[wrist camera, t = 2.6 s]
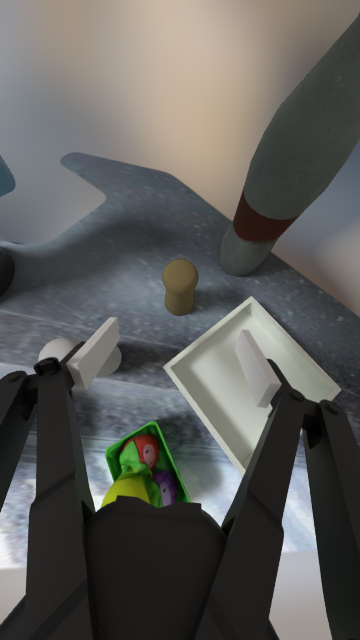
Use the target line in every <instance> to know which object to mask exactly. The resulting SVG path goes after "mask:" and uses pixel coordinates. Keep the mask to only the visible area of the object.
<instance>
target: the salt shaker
mask: <svg viewBox="0 0 360 640" xmlns="http://www.w3.org/2000/svg"><path fill="white" fill-rule="evenodd" d="M79 343H80V342H79V341H78V340H75V339H71V338H59V339H54V340H52V341H51V342H49V343H48V344H46V345H45V347H44V348H43V349H42V351H41V352H40V355H39V360H38V362H39V361H40V360H42V359H45V358H48V357H56V358H58V360H59V362H60V361H61V360H62V359H63V358H64V357H65V356H66V355H67V354H68V353H69V352H70V351H71V350H72V349H73V348H74V347H75V346H76V345H77V344H79ZM121 356H122V354H121V352H120V350H119V348H118V347H117V346H115V347H114V349H113V351H112V352H111V354H110V355H109V357H108V358H107V360H106V361H105V363H104V364H103V366H102V367H101V369H100V370H99V372H98V373H97V375H96V376H97V377H104V376H108V375H110V374H112V373H113V372H114V371H116V370H117V369H118V367H119V365H120V363H121Z"/></svg>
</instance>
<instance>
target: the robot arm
mask: <svg viewBox="0 0 360 640" xmlns="http://www.w3.org/2000/svg"><path fill="white" fill-rule="evenodd" d="M14 188H15V179H14V177H13V174H12V173H11V171H10V169H9V168H8V166H7V164H6V163H5V161H4V160H3V159H2V157H1V155H0V197H1V196H3V195H5V194H7V193H9V192H11V191H13V190H14ZM13 272H14V265H13V261H12V259H11V257H10V255H9V254H8V253H7V252H6V251H4V250H3V249H1V248H0V295H1V294H2V293H3V292H4V291H5V290H6V288H7V287H8V285H9V284H10V282H11V280H12V277H13ZM119 340H120V334H119V327H118V321H117V318H114V317H110V318H109V319H108V320H107V321H106V322H105V323H104V324H103V325H102V326H101V327H100V328H99V329H98V330H97V331H96V332H95V333H94V334H93V336H92V337H91V338H90V339H89V340H88V341H87V342H83V341H82V342H81V343H79V344H77V345H76V346H75V347H74V348H73V349H72V350H71V351H70V352H69V353H68V354H67V355H66V356H65V357H64V358H63V359H62V360H61V361H60V362H59V360H58V358H56V357H48V358H45V359H42V360H40V361H39V362H37V363H36V364H35V365H34V370H35V372H36V374H33V375H27V374H26V372H25V371H15V372H12V373H10V374H7V375H6V376H4V377H3V378H2V379H1V380H0V512H1V509H2V507H3V504H4V501H5V498H6V495H7V492H8V490H9V487H10V484H11V481H12V478H13V475H14V473H15V470H16V467H17V464H18V461H19V458H20V456H21V453H22V450H23V447H24V444H25V441H26V439H27V436H28V433H29V430H30V427H31V424H32V422H33V419H34V416H35V413H36V410H37V407H38V417H37V467H36V497H35V500H34V501H33V503H32V504H31V507H30V512H29V529H28V552H27V576H26V595H25V596H24V597H23V598H22V600H21V601H20V602H19V603H18V604H17V606H16V607H15V608H14V609H13V611H12V612H11V613H10V614H9V615H8V617H7V618H6V619H5V620H4V621H3V622H2V624H1V625H0V640H279V638H278V636H277V634H276V632H275V630H274V628H273V626H272V624H271V622H270V620H269V613H270V608H271V602H272V598H273V592H274V587H275V582H276V577H277V572H278V566H279V561H280V556H281V551H282V546H283V539H284V530H283V527H282V517H283V512H284V508H285V503H286V498H287V494H288V489H289V484H290V479H291V475H292V470H293V465H294V461H295V456H296V451H297V446H298V442H299V437H300V432H301V428H302V433H303V440H304V448H305V456H306V464H307V472H308V479H309V487H310V495H311V503H312V511H313V518H314V526H315V534H316V542H317V550H318V557H319V565H320V573H321V581H322V589H323V595H324V601H325V606H326V613H327V617H328V622H329V627H330V630H331V635H332V640H360V449H359V447H358V444H357V441H356V439H355V436H354V434H353V431H352V429H351V426H350V424H349V421H348V418H347V416H346V414H345V412H344V411H343V410H342V408H341V407H339V406H338V405H337V404H335V403H334V402H332V401H330V400H326V399H322V400H321V401H320V402H319V403H317V402H315V401H312V400H309V399H306V398H305V396H304V395H303V394H302V393H301V392H299V391H298V390H296V389H294V388H292V387H291V385H290V384H289V382H288V381H287V379H286V378H285V376H284V375H283V373H282V372H281V370H280V369H279V367H278V366H277V364H276V363H275V362H274V361H273V360H272V359H267V358H265V356H264V354H263V353H262V351H261V349H260V348H259V346H258V344H257V343H256V341H255V340H254V338H253V336H252V335H251V333H250V331H249V330H244V329H241V332H240V335H239V338H238V341H237V344H236V347H235V352H236V354H237V357H238V359H239V362H240V364H241V367H242V370H243V372H244V375H245V377H246V380H247V383H248V385H249V388H250V390H251V393H252V395H253V398H254V401H255V403H256V406H257V407H262V408H267V407H268V406H269V404H271V406H272V410H271V412H270V413H269V415H268V416H267V417H268V419H267V421H266V424H265V426H264V429H263V431H262V433H261V436H260V438H259V441H258V443H257V445H256V448H255V450H254V452H253V455H252V457H251V460H250V462H249V464H248V467H247V469H246V472H245V474H244V476H243V479H242V481H241V484H240V486H239V488H238V491H237V493H236V495H235V498H234V500H233V503H232V505H231V507H230V509H229V510H228V512H227V514H226V516H225V519H224V521H223V523H222V525H221V527H220V526H219V525H218V523H217V522H216V521H215V520H214V519H213V518H212V517H211V516H210V515H209V514H208V513H207V512H205V511H203V510H202V509H201V504H200V503H191V502H181V501H180V502H177V503H174V504H170V505H167V506H164V507H160V508H157V507H155V506H153V505H151V504H149V503H148V502H146V501H144V500H142V499H140V498H138V497H132V496H123V495H117V497H116V501H113V502H111V503H108V504H106V505H105V506H103V507H102V508H100V509H99V510H98V511H97V512H95V507H94V502H93V498H92V495H91V492H90V488H89V483H88V477H87V472H86V466H85V460H84V455H83V449H82V444H81V438H80V432H79V427H78V421H77V416H76V410H75V405H74V399H73V393H72V390H71V389H72V387H73V386H74V385H75V387H76V389H77V390H87V389H88V387H89V386H90V384H91V383H92V381H93V380H94V378H95V377H96V375H97V373H98V372H99V370H100V369H101V367H102V366H103V364H104V363H105V361H106V360H107V358H108V357H109V355H110V354H111V352H112V351H113V349H114V347H115V346H116V344H117V343H118V341H119Z"/></svg>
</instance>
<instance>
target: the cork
mask: <svg viewBox="0 0 360 640" xmlns="http://www.w3.org/2000/svg"><path fill="white" fill-rule="evenodd" d="M162 278H163V283H164V286H165V288H166V295H165V306H166V309H167V310H168V311H169V312H170V313H172V314H173V315H177V316H183V315H186V314H188V313H189V312H190V311H191V310H192V309H193V307H194V289H195V287H196V286H197V283H198V279H199V278H198V271H197V269H196V267H195V266H194V265H193V264H192V263H191V262H189V261H187V260H184V259H177V260H174V261H172V262H170V263H169V264H167V266H166V267H165V268H164V272H163V275H162Z"/></svg>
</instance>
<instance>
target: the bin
mask: <svg viewBox="0 0 360 640" xmlns="http://www.w3.org/2000/svg"><path fill="white" fill-rule="evenodd" d="M241 329H244V330H249V331H250V333H251V335H252V336H253V338H254V340H255V341H256V343H257V344H258V346H259V348H260V349H261V351H262V353H263V354H264V356H265V358H267V359H272V360H273V361H274V362H275V363H276V364H277V366H278V367H279V369H280V370H281V372H282V373H283V375H284V376H285V378H286V379H287V381H288V382H289V384H290V385H291V387H292V388H294V389H296V390H298V391H299V392H301V393H302V394H303V395H304V396H305V398H306V399H309V400H312V401H315V402H317V403H319V402H320V401H321V400H322V399H326V400H330V401H332V400H333V399H334V397H335V396H336V395H337V394H338V393H339V392H340V391H341V390H342V389H341V388H340V387H339V386H338V385H337V384H336V383H335V382H334V381H333V380H332V379H331V378H330V377H329V376H328V375H327V374H326V373H325V372H324V371H323V370H322V368H321V367H320V366H319V365H318V364H317V363H316V362H315V361H314V360H313V359H312V358H311V357H310V356H309V355H308V354H307V353H306V352H305V351H304V350H303V349H302V348H301V347H300V346H299V345H298V344H297V343H296V342H295V340H294V339H293V338H292V337H291V336H290V335H289V334H288V333H287V332H286V331H285V330H284V329H283V328H282V327H281V326H280V325H279V324H278V323H277V322H276V321H275V320H274V319H273V318H272V317H271V316H270V315H269V313H268V312H267V311H266V310H265V309H264V308H263V307H262V306H261V305H260V304H259V303H258V302H257V301H256V300H255V299H254V298H253V297H252V296H251V297H250V298H248V299H247V300H246V301H245V302H243V303H242V304H241V305H240V306H238V307H237V308H236V309H234V310H233V311H232V312H231V313H229V314H228V315H227V316H226V317H224V318H223V319H222V320H221V321H219V322H218V323H217V324H216V325H214V326H213V327H212V328H211V329H209V330H208V331H207V332H206V333H204V334H203V335H202V336H201V337H199V338H198V339H197V340H196V341H194V342H193V343H192V344H191V345H189V346H188V347H187V348H186V349H184V350H183V351H182V352H181V353H179V354H178V355H177V356H176V357H174V358H173V359H172V360H171V361H169V362H168V363H167V364H166V365H164V366H163V368H164V369H165V370H166V372H167V373H168V375H169V376H170V377H171V379H172V380H173V381H174V383H175V384H176V386H177V387H178V388H179V390H180V391H181V392H182V394H183V395H184V397H185V398H186V399H187V401H188V402H189V404H190V405H191V406H192V408H193V409H194V410H195V412H196V413H197V415H198V416H199V417H200V419H201V420H202V422H203V423H204V424H205V426H206V427H207V428H208V430H209V431H210V433H211V434H212V435H213V437H214V438H215V440H216V441H217V442H218V444H219V445H220V446H221V448H222V449H223V451H224V452H225V453H226V455H227V456H228V458H229V459H230V460H231V462H232V463H233V464H234V466H235V467H236V469H237V470H238V471H239V473H240V474H241V476H242V477H243V476H244V474H245V472H246V469H247V467H248V464H249V462H250V460H251V457H252V455H253V452H254V450H255V448H256V445H257V443H258V441H259V438H260V436H261V433H262V431H263V429H264V426H265V424H266V421H267V419H268V417H267V416H268V415H269V413H270V412H271V410H272V406H271V404H269V406H268V407H267V408H262V407H257V406H256V403H255V401H254V398H253V395H252V393H251V390H250V388H249V385H248V383H247V380H246V377H245V375H244V372H243V370H242V367H241V364H240V362H239V359H238V357H237V354H236V352H235V347H236V344H237V341H238V338H239V335H240V332H241ZM301 434H302V428H301V432H300V435H301Z"/></svg>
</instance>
